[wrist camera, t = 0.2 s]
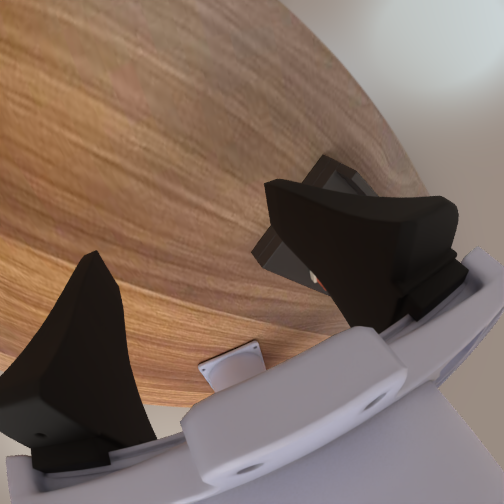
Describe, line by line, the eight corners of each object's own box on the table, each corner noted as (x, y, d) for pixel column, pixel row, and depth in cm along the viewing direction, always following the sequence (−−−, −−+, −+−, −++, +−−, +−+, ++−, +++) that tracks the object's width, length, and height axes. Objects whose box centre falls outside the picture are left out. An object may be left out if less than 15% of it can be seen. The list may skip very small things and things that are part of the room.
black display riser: (415, 256, 41) (434, 271, 37) (373, 308, 44) (390, 326, 40) (322, 154, 24) (357, 171, 20) (250, 252, 26) (272, 282, 23)
